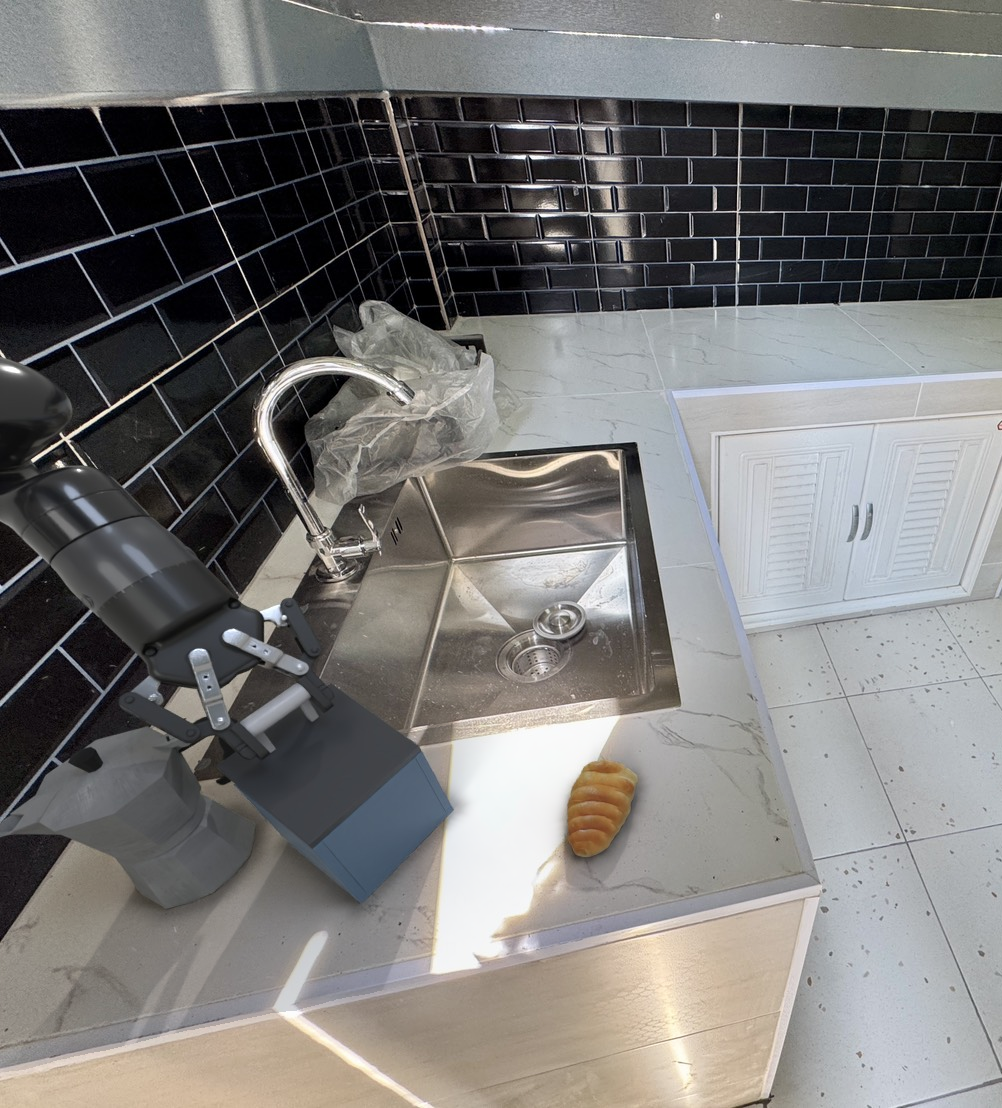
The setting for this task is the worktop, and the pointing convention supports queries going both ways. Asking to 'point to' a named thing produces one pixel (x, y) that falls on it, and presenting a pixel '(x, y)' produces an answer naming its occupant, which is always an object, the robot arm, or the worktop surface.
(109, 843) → the coffeepot
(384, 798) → the blue-grey box
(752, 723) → the worktop surface
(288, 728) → the grey box lid
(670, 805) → the worktop surface
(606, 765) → the pastry
